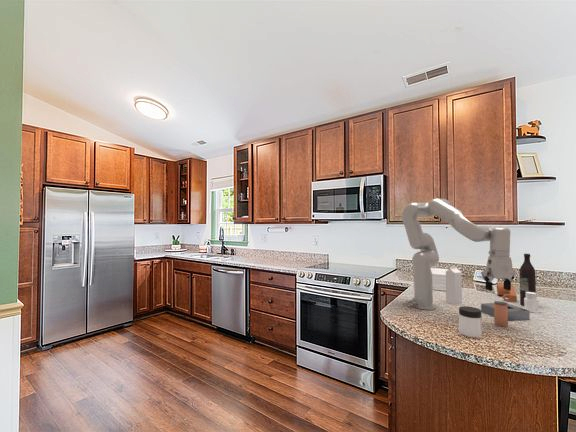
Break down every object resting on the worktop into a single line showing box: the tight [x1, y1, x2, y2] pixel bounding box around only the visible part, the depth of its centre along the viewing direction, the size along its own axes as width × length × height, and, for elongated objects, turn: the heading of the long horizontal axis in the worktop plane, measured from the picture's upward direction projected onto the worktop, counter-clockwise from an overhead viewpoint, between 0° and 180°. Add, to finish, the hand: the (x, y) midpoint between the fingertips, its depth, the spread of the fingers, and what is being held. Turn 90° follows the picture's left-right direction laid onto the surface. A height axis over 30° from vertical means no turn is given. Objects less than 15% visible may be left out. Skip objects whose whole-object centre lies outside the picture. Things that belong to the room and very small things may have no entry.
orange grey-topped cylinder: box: [493, 300, 509, 328], centre depth 131 cm, size 5×5×11 cm
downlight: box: [523, 292, 541, 314], centre depth 153 cm, size 8×7×10 cm
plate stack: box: [430, 267, 450, 292], centre depth 214 cm, size 28×28×12 cm
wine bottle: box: [519, 253, 537, 306], centre depth 164 cm, size 7×7×30 cm
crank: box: [496, 282, 518, 303], centre depth 181 cm, size 20×8×8 cm, turn 148°
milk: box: [445, 265, 463, 305], centre depth 170 cm, size 6×6×22 cm
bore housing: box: [480, 302, 531, 322], centre depth 145 cm, size 14×14×5 cm
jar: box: [458, 305, 483, 339], centre depth 120 cm, size 9×8×12 cm
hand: (497, 289), depth 132 cm, fingers open, 9 cm apart
